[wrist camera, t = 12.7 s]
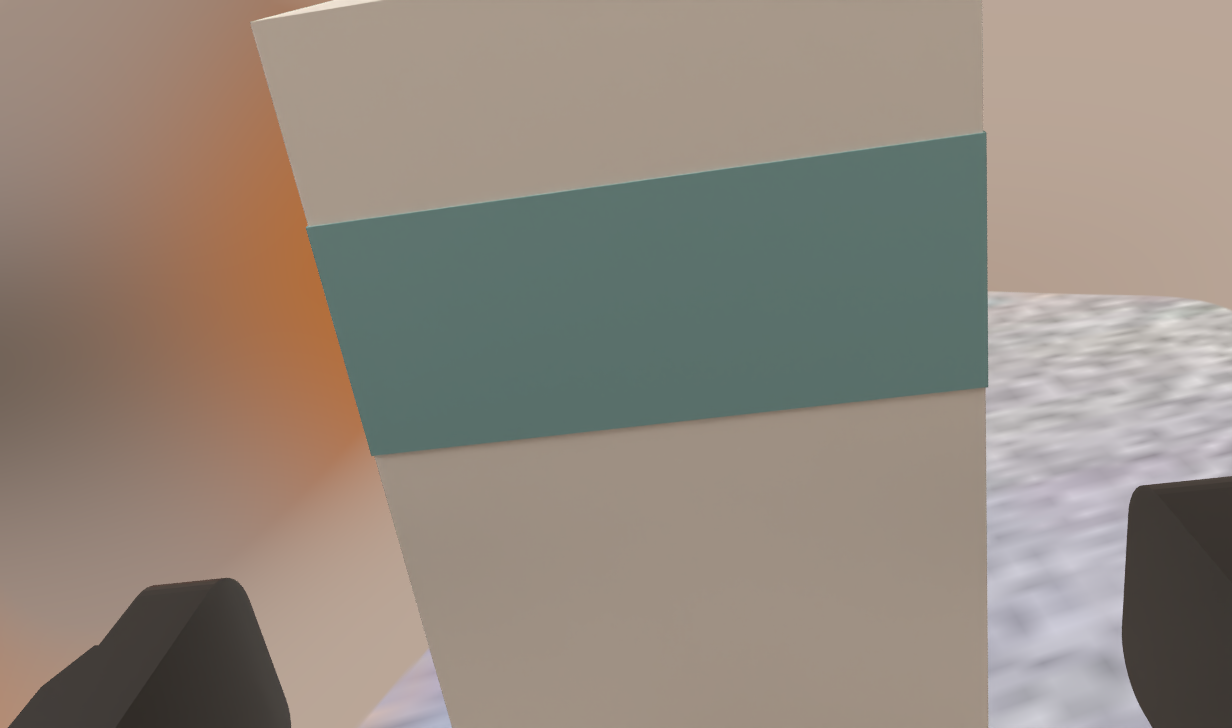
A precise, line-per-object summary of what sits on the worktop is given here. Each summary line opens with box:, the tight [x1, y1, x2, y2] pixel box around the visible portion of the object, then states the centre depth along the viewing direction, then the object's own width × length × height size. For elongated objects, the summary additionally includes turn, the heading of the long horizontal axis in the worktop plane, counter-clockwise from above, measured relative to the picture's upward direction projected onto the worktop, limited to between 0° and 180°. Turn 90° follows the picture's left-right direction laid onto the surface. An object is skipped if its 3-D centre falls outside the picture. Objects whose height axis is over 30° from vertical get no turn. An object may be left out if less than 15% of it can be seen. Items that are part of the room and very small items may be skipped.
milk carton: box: [250, 0, 988, 728], centre depth 14 cm, size 6×6×16 cm
